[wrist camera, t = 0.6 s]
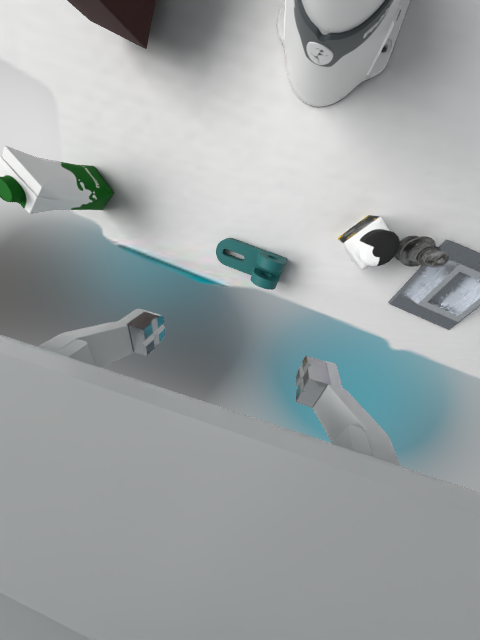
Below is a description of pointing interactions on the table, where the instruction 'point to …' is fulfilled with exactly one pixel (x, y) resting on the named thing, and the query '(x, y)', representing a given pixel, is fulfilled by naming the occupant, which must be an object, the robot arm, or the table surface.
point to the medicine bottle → (370, 242)
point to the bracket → (252, 262)
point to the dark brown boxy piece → (120, 17)
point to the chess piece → (420, 252)
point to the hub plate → (443, 288)
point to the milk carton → (50, 183)
